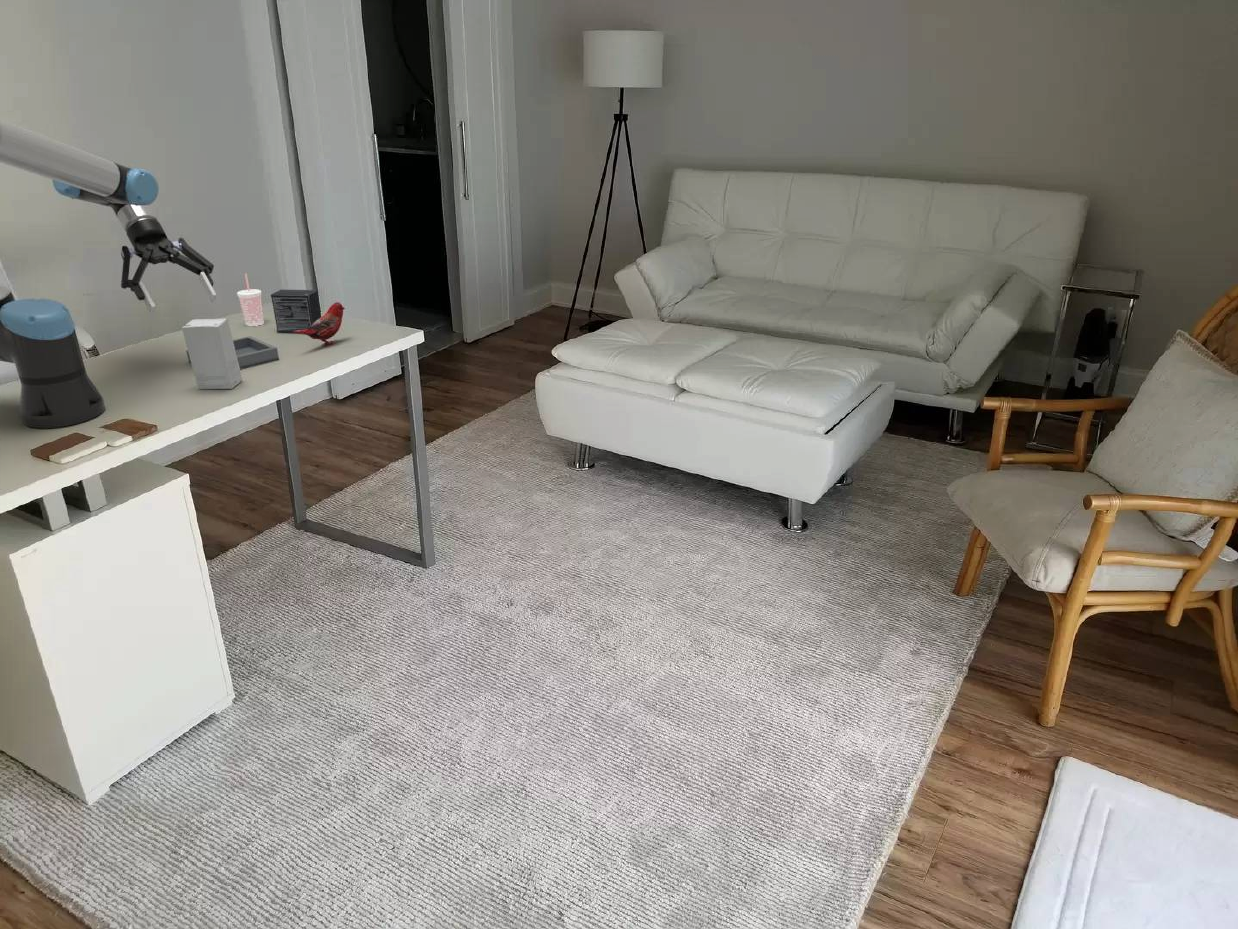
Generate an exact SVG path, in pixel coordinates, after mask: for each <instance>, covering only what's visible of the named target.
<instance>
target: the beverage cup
mask: <svg viewBox="0 0 1238 929" xmlns="http://www.w3.org/2000/svg"><path fill="white" fill-rule="evenodd" d="M244 276H245V282H246V288H247V289H244V290H238V292H236V295H237V297H238V298H239V303H240V307H241V311H242V314H243V318H244V323H245V326H246V325H248V326H256V327H259V326H258V325H261V326H263V325H264V324H265V322H264V314H263V306H262V305H263V304H262V290H261V289H258V288H257V289H256V288H255V289H254V288H253V289H252V288H250V284H249V279H248V274H247V272H246V273H244ZM248 326H247V327H248Z"/></svg>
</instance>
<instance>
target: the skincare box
mask: <svg viewBox="0 0 1238 929" xmlns="http://www.w3.org/2000/svg"><path fill="white" fill-rule="evenodd" d="M181 331H182V333H183V337H184V342H185V346H186V350H188V353H189V357H190V360H191V363H190V365H191V368H192V372H193V374H194V379H195V382H196V383H195V384H196V387H197V389H198V390H212V389H213V390H214V389H215V390H216V389H218V390H221V389H222V390H224V389H225V390H227V389H228V390H229V389H234V388H235V387H236V386H237V385H239V384H240V383H241V382H243V376H242V373H241V369H240V367H239V363H238V359H237V355H236V351H235V347H234V343H233V340H234V339H233V336H232V331H231V327H230V324H229V318H204V319H202V318H201V319H191V320H190V321H189V322H187V323H186V324H184V325H183V326H182V327H181Z"/></svg>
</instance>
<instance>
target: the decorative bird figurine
mask: <svg viewBox="0 0 1238 929" xmlns="http://www.w3.org/2000/svg"><path fill="white" fill-rule="evenodd" d="M344 310H345V307H344V306H343V305H342V303H340V302H338V301H336V302H334V303H333V304H332V305H331V306H329V308H328V309H327V311H326V313H324V314H323V315H321V318H319V319H318V320H316V321H315V322H314V323H313V324H312V325H311V326H310V327H309V328H308V329H306V330H298V331H292V333H291V334H300V335H306V336H308V337H310V338H311V339H313V340H320V341H322V342H323V343H322V344H321V346H323V347H325V346H327V345H331V344H333V343H335V342H336V341H338V340H337V339H334V340H330V341H328V340H329V339H331V338H332V337H334V336H335V335H336V334H337V333H338V332H339V330H340V328H341V325H342V321H343V317H344V316H343V315H344Z"/></svg>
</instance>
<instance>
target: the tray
mask: <svg viewBox="0 0 1238 929" xmlns="http://www.w3.org/2000/svg"><path fill="white" fill-rule="evenodd" d="M233 343H234V347H235V351H236V355H237V359H238V363H239V367H240V370H242V369H241V368H244V369H247V368H252V367H255V366H259V365H263V363H264V364H267V362H268V363H271V362H275V361H279V360H280V359H279V358H280V357H279V352H278V347H275V346H273V345H272V344H269V343H267V342H265V341H262V340H260V339H258V338H256V337H253V336H251V335H248V336H243V337H239V338H235V339H233ZM186 355H187V360H188V363H189V362H191V360H190V357H189V353H188V349H186Z"/></svg>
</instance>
